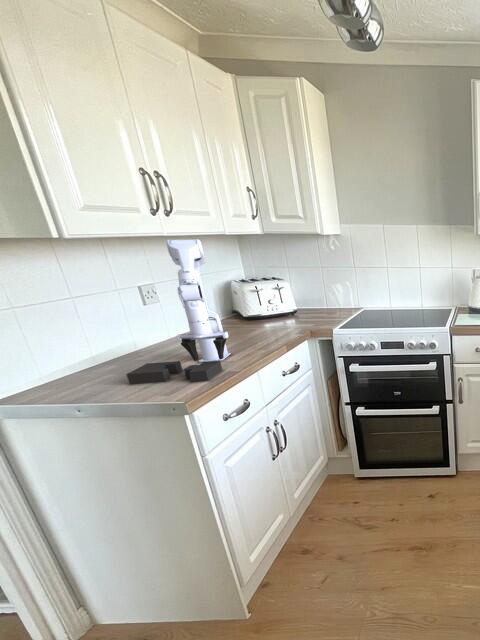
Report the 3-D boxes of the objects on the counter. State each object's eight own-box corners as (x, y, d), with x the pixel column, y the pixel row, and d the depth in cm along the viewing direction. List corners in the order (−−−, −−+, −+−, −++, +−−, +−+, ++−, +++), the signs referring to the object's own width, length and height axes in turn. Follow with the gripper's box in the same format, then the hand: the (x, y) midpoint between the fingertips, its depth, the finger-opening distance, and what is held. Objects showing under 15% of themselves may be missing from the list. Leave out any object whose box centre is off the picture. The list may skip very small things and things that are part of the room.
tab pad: (197, 371, 146) (194, 362, 145) (222, 369, 148) (220, 360, 146) (181, 382, 135) (178, 372, 134) (208, 380, 137) (205, 370, 135)
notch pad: (149, 372, 145) (146, 363, 144) (182, 370, 147) (180, 361, 146) (129, 384, 134) (126, 374, 133) (165, 381, 136) (162, 371, 135)
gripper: (167, 324, 134) (179, 364, 138) (218, 321, 137) (228, 360, 142) (178, 320, 140) (189, 358, 145) (226, 317, 144) (235, 355, 148)
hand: (209, 359), depth 144 cm, fingers open, 7 cm apart
